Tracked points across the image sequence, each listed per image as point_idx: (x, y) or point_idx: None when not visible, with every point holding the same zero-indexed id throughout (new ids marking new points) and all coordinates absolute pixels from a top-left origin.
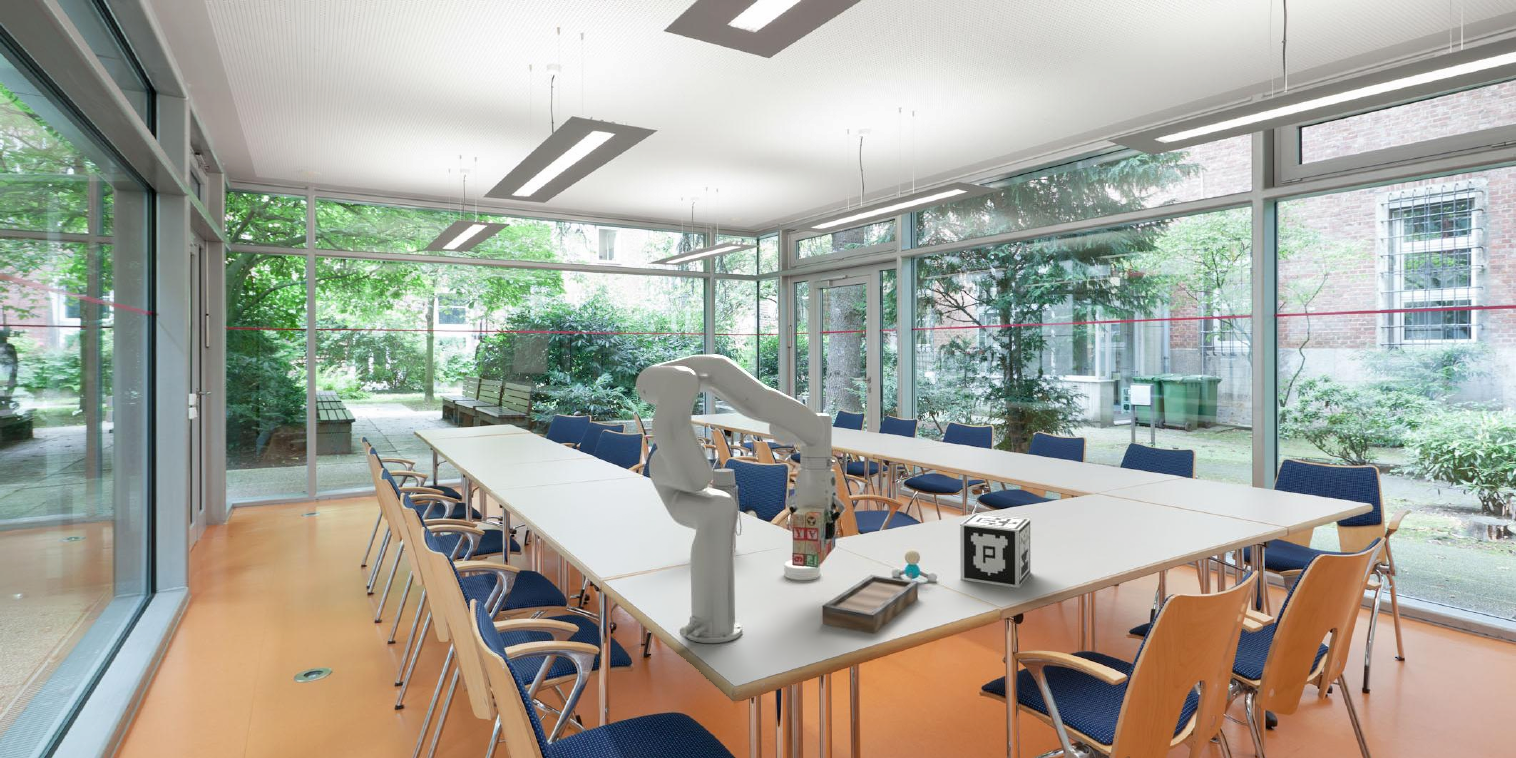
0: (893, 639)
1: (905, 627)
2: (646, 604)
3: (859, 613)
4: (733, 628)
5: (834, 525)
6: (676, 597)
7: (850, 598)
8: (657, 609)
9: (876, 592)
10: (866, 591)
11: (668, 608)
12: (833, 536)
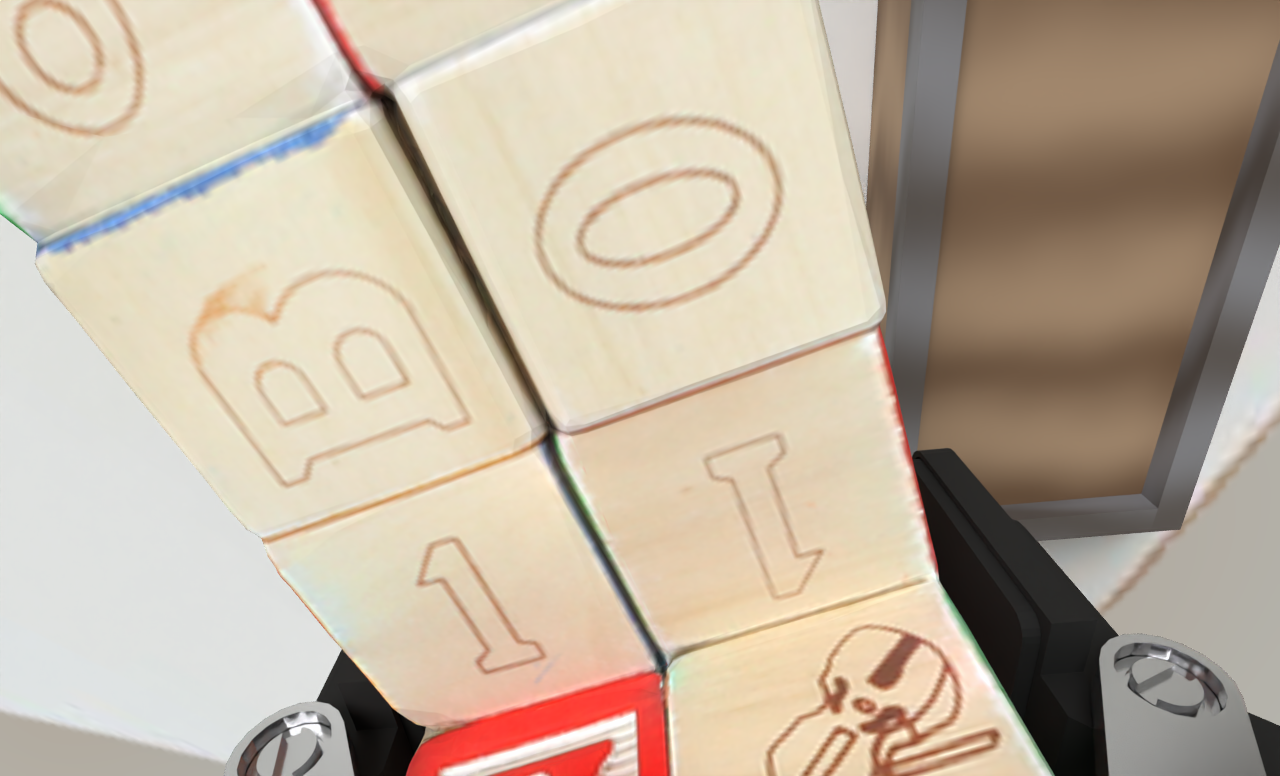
0: (1219, 482)
1: (1268, 326)
2: (70, 698)
3: (1095, 532)
4: None
5: (1095, 628)
6: (52, 590)
7: (944, 304)
8: (161, 710)
9: (1086, 71)
10: (1004, 95)
11: (179, 685)
12: (947, 448)
